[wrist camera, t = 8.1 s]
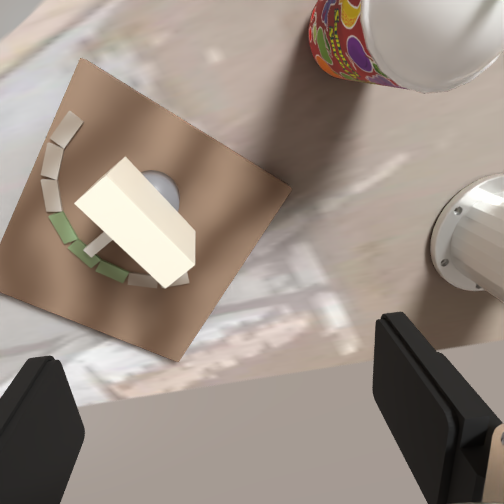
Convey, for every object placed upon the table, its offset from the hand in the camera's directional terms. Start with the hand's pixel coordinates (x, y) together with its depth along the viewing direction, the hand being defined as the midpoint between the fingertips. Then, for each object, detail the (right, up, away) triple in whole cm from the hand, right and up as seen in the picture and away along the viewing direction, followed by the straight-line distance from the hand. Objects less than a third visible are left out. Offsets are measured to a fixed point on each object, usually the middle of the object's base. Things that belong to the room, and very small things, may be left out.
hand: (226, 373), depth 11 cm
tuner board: (-9, +6, +23) cm, 26 cm away
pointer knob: (-10, +7, +21) cm, 24 cm away
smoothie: (+8, +21, +19) cm, 30 cm away
